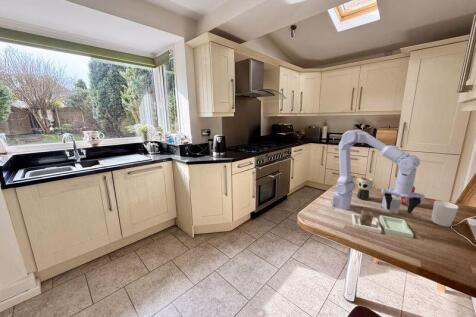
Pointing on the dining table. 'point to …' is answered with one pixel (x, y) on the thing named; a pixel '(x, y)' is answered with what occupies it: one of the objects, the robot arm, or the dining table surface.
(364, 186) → the character mug
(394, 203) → the medicine box
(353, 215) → the cream dish
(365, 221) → the walnut block
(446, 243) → the dining table surface
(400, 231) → the sage tray
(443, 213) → the white cup
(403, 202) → the soda can
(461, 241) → the dining table surface
